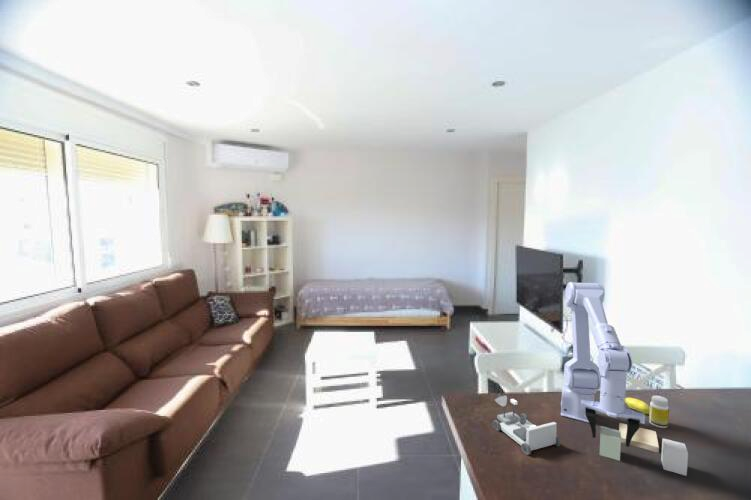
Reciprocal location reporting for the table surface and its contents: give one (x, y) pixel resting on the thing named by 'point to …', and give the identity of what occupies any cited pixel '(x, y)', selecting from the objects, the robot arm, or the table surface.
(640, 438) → the birch block
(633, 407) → the lemon
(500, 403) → the toy car
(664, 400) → the supplement bottle
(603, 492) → the table surface
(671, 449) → the grey block
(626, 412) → the robot arm
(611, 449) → the sage block
